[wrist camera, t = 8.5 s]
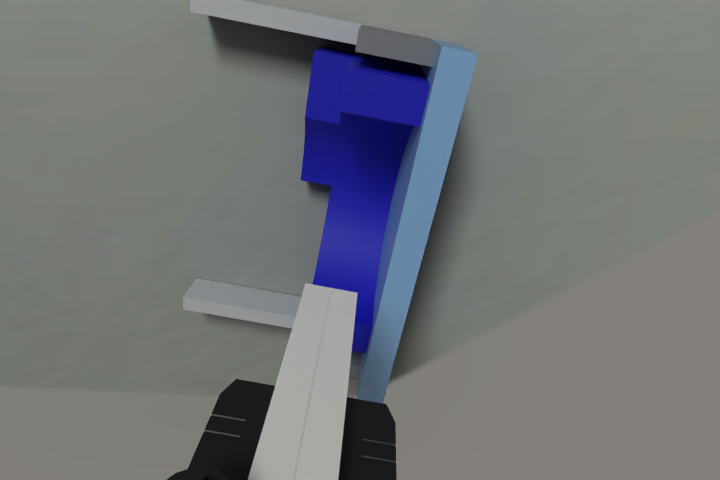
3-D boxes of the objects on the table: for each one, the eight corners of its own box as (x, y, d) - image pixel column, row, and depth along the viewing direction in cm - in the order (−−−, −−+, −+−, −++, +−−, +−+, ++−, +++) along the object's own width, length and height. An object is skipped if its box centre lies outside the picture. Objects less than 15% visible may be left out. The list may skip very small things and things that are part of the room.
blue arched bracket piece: (322, 46, 22) (302, 59, 17) (418, 65, 22) (429, 84, 17) (291, 270, 27) (268, 336, 22) (369, 284, 27) (366, 353, 22)
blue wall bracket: (196, 289, 28) (145, 364, 22) (207, -9, 21) (138, -15, 15) (382, 323, 28) (381, 405, 22) (452, 40, 21) (478, 53, 16)
